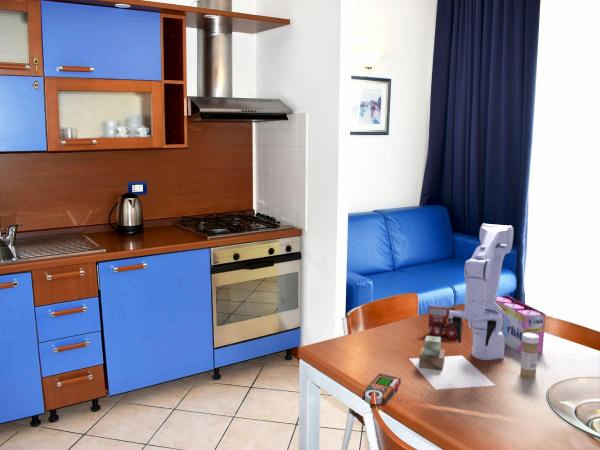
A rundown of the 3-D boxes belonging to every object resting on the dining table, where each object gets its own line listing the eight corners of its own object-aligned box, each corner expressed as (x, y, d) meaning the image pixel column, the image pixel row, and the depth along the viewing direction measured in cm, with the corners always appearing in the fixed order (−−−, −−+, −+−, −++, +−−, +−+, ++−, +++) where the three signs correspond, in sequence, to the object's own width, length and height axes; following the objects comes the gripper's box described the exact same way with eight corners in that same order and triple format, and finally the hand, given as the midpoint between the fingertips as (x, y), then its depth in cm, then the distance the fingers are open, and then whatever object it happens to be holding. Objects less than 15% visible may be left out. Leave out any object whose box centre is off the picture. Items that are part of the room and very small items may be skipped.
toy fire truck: (462, 339, 197) (463, 311, 196) (426, 336, 201) (427, 308, 199) (462, 333, 204) (463, 305, 202) (427, 330, 207) (428, 303, 205)
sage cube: (440, 350, 175) (441, 337, 174) (439, 356, 170) (439, 342, 170) (425, 349, 176) (426, 335, 175) (424, 354, 172) (424, 340, 171)
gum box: (483, 330, 207) (485, 295, 205) (502, 328, 209) (505, 293, 207) (522, 354, 184) (525, 315, 182) (543, 352, 186) (546, 313, 184)
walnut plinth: (444, 361, 176) (444, 349, 175) (442, 370, 170) (442, 358, 169) (421, 358, 178) (422, 347, 178) (419, 367, 172) (419, 355, 171)
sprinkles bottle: (532, 374, 169) (535, 332, 167) (538, 381, 164) (541, 337, 162) (517, 374, 169) (519, 332, 167) (523, 381, 164) (526, 337, 162)
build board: (461, 357, 181) (461, 355, 181) (495, 387, 160) (495, 385, 160) (408, 361, 179) (408, 358, 178) (435, 392, 157) (435, 389, 157)
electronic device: (359, 394, 151) (379, 371, 164) (359, 404, 152) (379, 380, 165) (383, 400, 148) (401, 376, 161) (383, 410, 149) (401, 385, 161)
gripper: (449, 300, 163) (446, 344, 165) (501, 305, 158) (498, 351, 160) (450, 294, 170) (448, 336, 172) (501, 298, 165) (498, 342, 167)
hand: (473, 343), depth 167 cm, fingers open, 7 cm apart
